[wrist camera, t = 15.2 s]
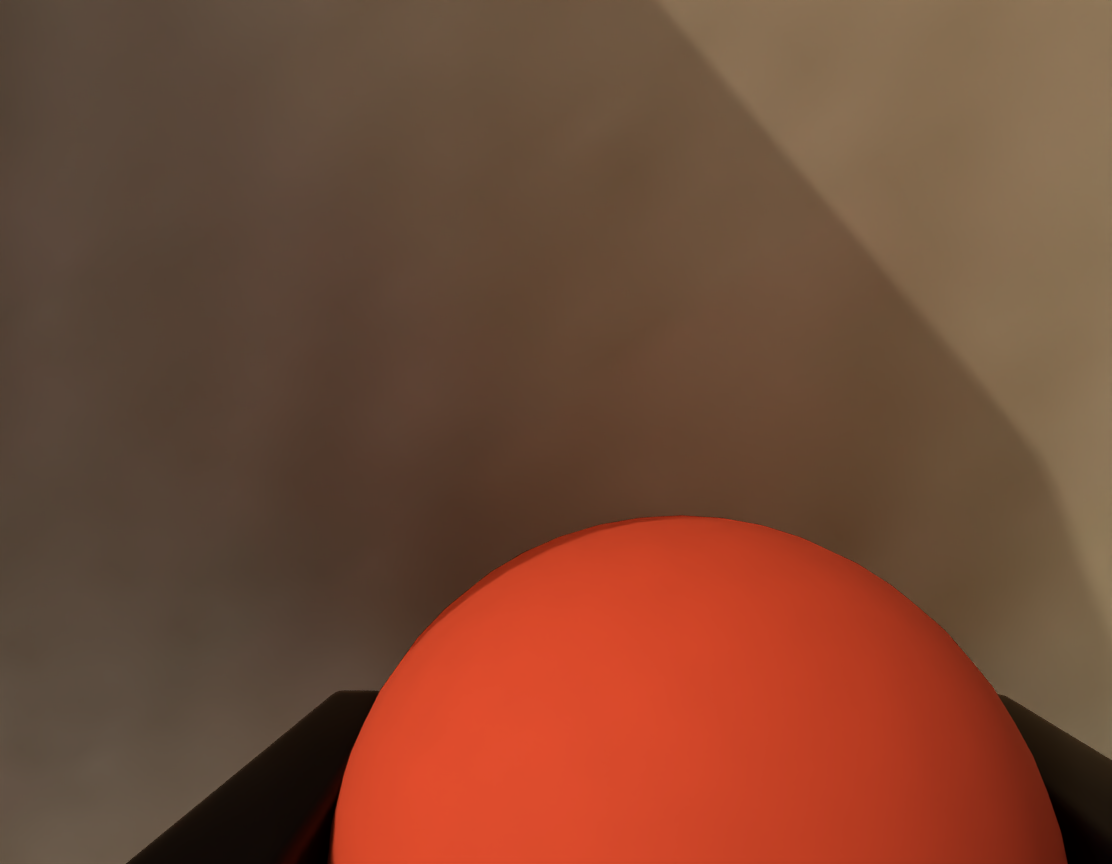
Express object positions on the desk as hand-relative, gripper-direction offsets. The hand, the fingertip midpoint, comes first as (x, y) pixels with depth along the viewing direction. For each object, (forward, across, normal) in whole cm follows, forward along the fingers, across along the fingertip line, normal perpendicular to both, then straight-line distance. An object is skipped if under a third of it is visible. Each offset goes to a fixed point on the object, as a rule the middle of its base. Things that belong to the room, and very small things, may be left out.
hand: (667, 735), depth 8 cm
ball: (-2, 0, 0) cm, 2 cm away
